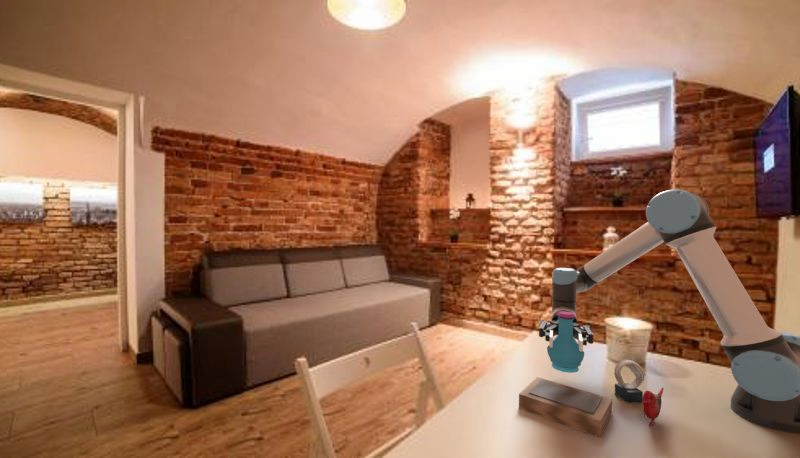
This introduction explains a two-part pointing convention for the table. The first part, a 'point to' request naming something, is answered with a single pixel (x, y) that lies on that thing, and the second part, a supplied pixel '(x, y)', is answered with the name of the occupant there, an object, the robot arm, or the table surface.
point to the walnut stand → (567, 405)
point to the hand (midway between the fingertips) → (565, 344)
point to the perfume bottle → (565, 346)
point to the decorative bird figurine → (652, 405)
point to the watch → (626, 389)
